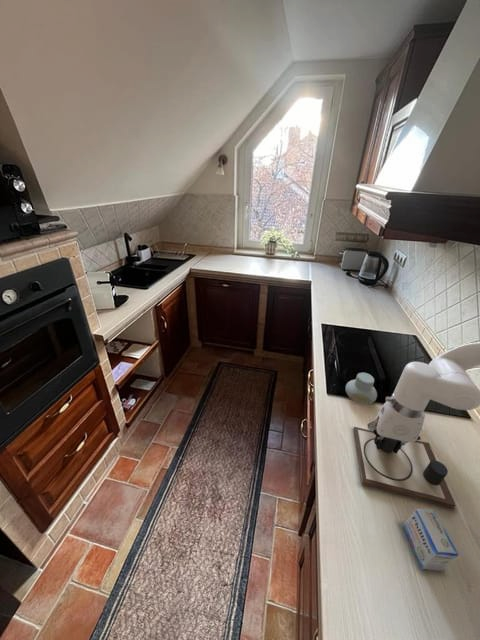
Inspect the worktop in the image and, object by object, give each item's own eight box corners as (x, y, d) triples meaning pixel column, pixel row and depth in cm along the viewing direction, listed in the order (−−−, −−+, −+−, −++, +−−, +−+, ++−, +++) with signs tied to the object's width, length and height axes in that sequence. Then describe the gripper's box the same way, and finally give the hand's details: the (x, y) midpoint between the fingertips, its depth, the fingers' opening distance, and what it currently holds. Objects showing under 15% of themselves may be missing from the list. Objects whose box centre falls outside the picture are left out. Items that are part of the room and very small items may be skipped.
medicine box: (401, 526, 61) (414, 507, 57) (420, 526, 61) (434, 508, 57) (421, 570, 54) (437, 553, 50) (442, 571, 54) (460, 554, 50)
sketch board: (427, 445, 80) (429, 442, 79) (453, 508, 65) (456, 505, 64) (353, 429, 84) (354, 426, 84) (361, 484, 69) (363, 481, 68)
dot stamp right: (436, 472, 71) (444, 462, 68) (442, 487, 68) (450, 476, 65) (420, 468, 72) (427, 458, 69) (425, 483, 68) (433, 472, 66)
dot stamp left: (391, 442, 78) (396, 432, 75) (394, 454, 74) (400, 444, 72) (377, 439, 79) (381, 428, 76) (379, 451, 75) (384, 440, 73)
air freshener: (374, 394, 98) (382, 375, 94) (374, 410, 92) (382, 389, 87) (345, 385, 102) (350, 366, 97) (342, 399, 96) (349, 379, 91)
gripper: (375, 408, 66) (357, 451, 75) (448, 423, 63) (420, 466, 72) (370, 388, 72) (354, 430, 81) (436, 400, 69) (412, 443, 78)
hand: (385, 446), depth 76 cm, fingers closed on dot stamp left, 4 cm apart
